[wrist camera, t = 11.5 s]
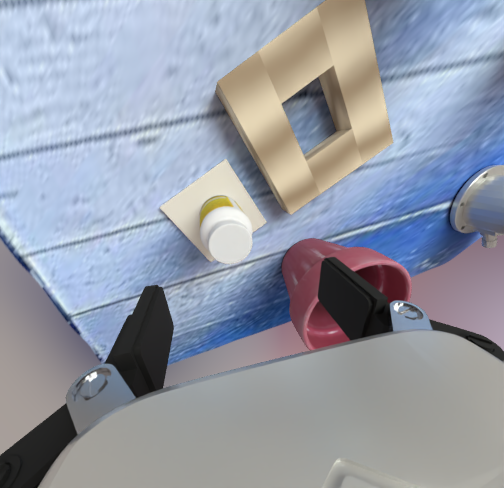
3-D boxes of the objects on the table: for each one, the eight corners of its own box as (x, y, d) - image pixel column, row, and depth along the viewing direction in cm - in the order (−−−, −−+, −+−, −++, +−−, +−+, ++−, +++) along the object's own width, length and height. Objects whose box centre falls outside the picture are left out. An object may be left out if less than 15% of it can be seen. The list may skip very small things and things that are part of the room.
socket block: (374, 143, 28) (393, 142, 25) (282, 209, 28) (290, 214, 26) (338, -2, 20) (359, -26, 18) (215, 91, 21) (217, 81, 18)
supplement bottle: (192, 223, 25) (188, 257, 17) (211, 186, 24) (218, 202, 16) (228, 240, 28) (241, 278, 19) (247, 207, 26) (271, 231, 18)
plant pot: (341, 210, 31) (423, 241, 20) (344, 278, 37) (408, 332, 26) (257, 240, 29) (292, 292, 18) (275, 306, 36) (310, 375, 24)
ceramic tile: (265, 221, 28) (266, 222, 28) (210, 260, 29) (210, 262, 28) (225, 158, 24) (225, 158, 23) (160, 206, 24) (159, 207, 24)
